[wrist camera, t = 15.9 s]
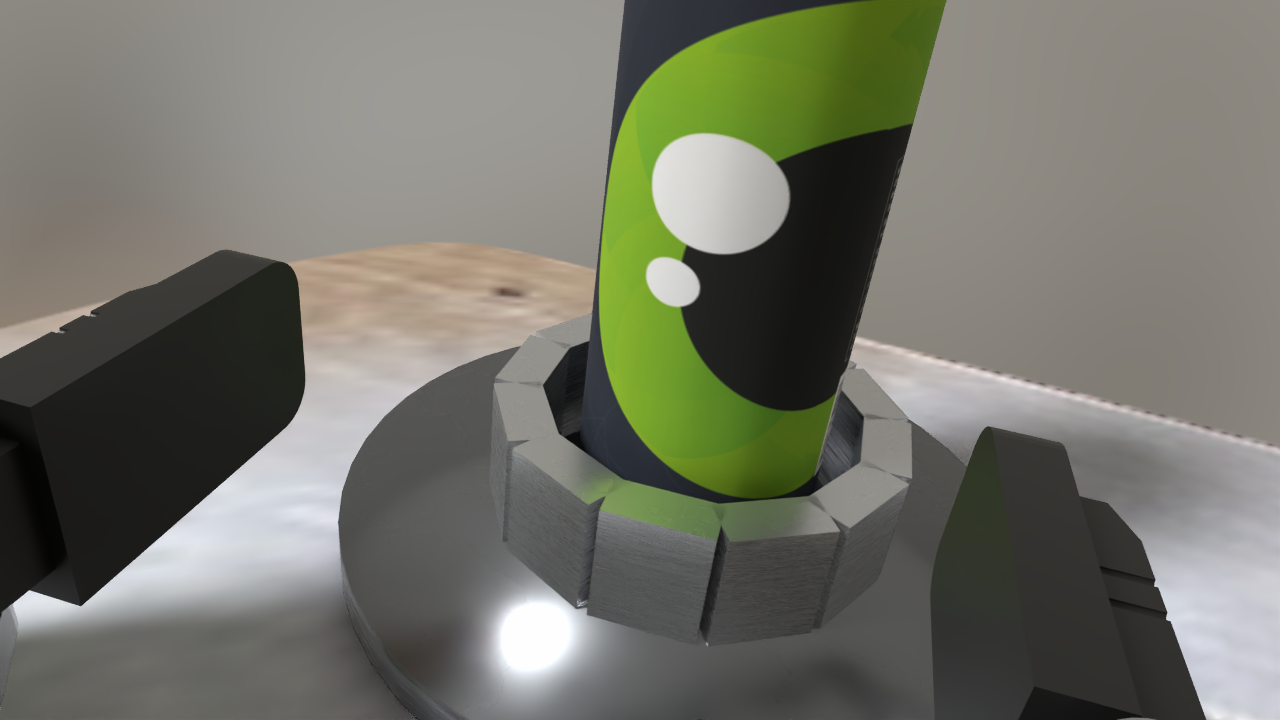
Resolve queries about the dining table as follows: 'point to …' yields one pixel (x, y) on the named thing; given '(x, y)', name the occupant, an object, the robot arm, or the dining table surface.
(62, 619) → the dining table surface
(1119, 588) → the robot arm
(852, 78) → the beverage can
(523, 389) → the rosette
